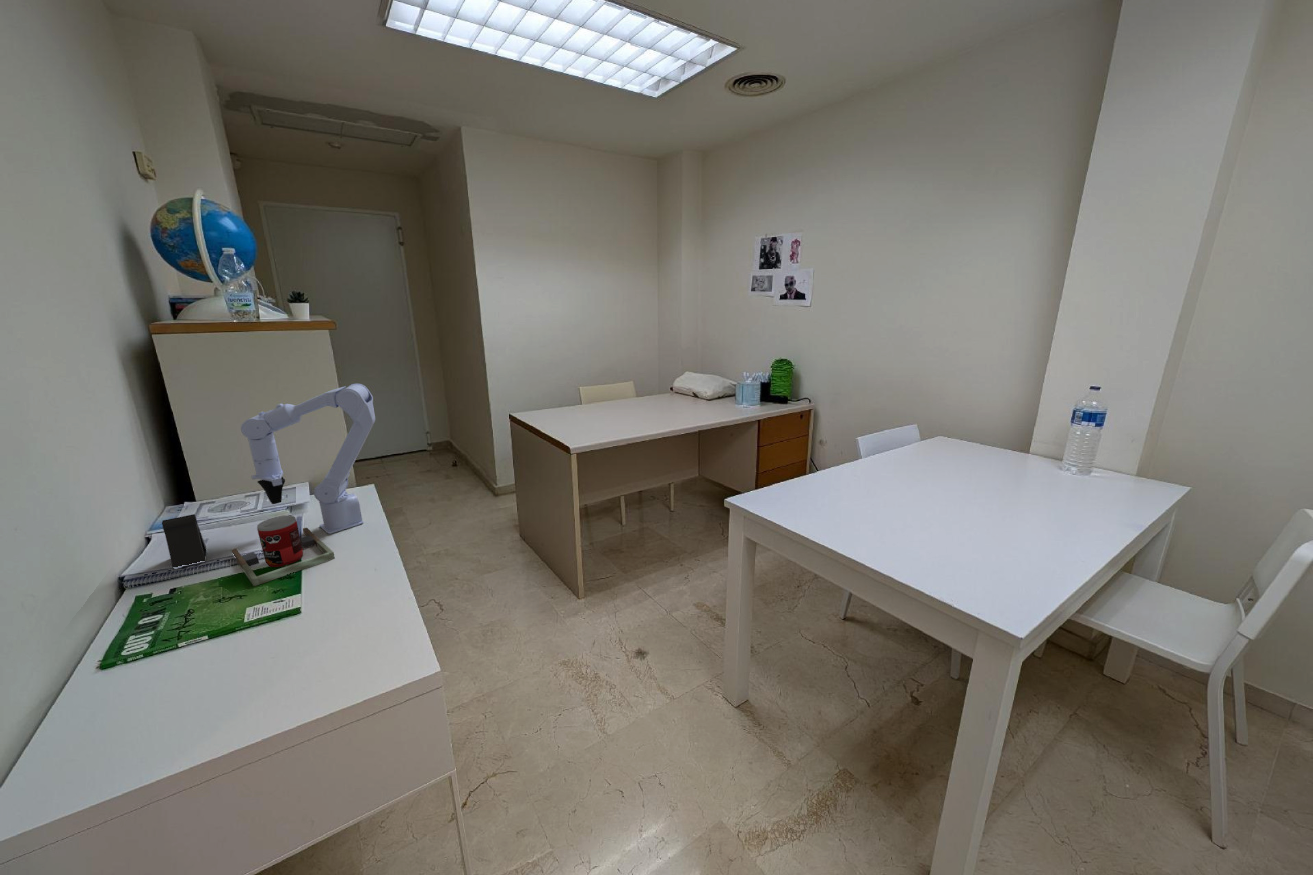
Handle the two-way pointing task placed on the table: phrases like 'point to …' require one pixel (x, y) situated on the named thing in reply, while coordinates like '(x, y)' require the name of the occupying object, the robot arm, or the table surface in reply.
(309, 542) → the trap blocks
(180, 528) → the phone stand
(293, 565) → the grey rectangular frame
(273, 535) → the canned food
